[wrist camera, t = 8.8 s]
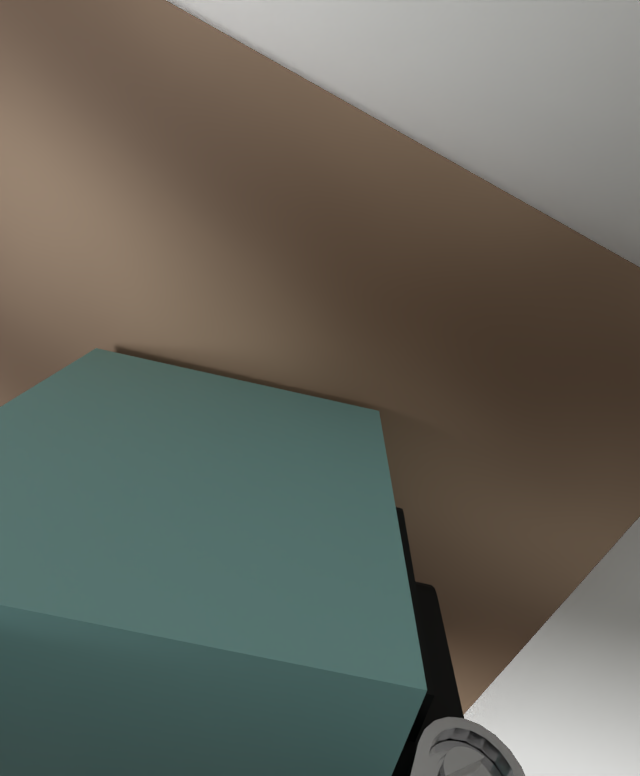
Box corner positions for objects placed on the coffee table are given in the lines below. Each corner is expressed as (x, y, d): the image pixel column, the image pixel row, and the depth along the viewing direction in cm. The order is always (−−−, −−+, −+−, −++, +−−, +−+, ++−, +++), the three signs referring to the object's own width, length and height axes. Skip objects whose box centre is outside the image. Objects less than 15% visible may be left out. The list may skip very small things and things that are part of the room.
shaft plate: (-8, -87, 9) (-358, -368, 4) (747, 336, 10) (1023, 430, 6) (-142, 576, 14) (-356, 739, 10) (369, 781, 16) (376, 996, 11)
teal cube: (96, 348, 10) (-286, 583, 4) (379, 410, 10) (432, 724, 4) (81, 575, 12) (-185, 959, 6) (317, 623, 12) (293, 1041, 6)
